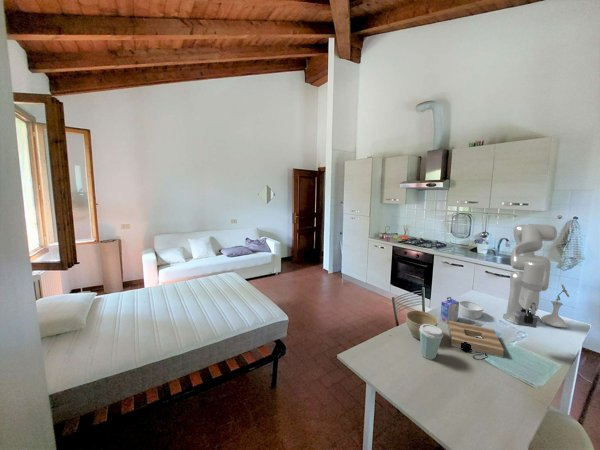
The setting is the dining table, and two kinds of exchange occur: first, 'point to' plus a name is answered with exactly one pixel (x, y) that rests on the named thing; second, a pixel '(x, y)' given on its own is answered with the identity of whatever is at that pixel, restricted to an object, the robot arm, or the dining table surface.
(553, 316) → the flower in vase
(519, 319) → the flanged block
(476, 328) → the wooden board
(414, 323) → the planter bowl
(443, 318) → the ink cartridge box
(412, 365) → the dining table surface
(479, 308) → the ramekin
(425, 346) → the disposable coffee cup
